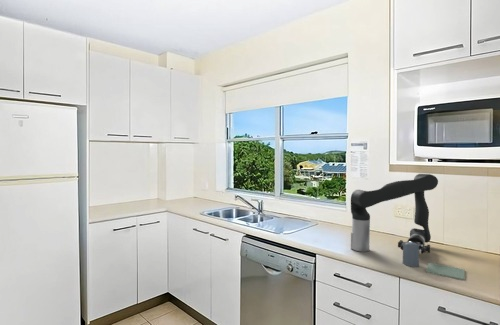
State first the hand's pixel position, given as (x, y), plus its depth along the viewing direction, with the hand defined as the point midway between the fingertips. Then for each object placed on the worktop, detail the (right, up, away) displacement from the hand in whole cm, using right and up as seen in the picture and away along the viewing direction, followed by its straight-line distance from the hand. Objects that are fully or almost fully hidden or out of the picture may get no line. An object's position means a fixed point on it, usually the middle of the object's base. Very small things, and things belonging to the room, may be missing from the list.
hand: (412, 249), depth 144 cm
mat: (+9, -6, -11) cm, 16 cm away
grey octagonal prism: (-2, -6, -3) cm, 7 cm away
